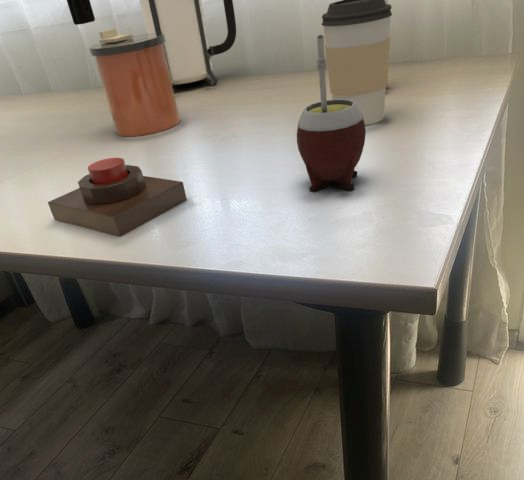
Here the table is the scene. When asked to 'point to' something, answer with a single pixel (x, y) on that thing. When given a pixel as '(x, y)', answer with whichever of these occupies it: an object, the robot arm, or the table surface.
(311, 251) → the table surface
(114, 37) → the slider
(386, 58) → the coffee cup
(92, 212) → the button base
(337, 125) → the mate gourd
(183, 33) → the coffee press
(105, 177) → the button
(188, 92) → the table surface
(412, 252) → the table surface
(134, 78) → the tumbler
